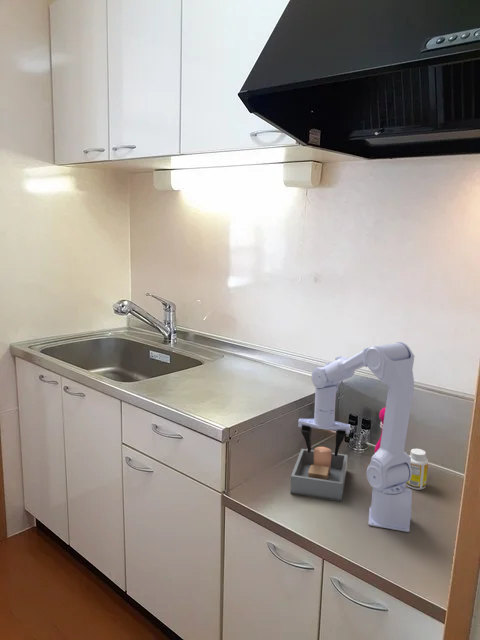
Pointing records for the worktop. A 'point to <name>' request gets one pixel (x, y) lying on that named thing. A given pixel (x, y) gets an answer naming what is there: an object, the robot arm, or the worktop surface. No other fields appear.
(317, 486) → the gray tote
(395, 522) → the robot arm
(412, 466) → the supplement bottle
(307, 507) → the worktop surface
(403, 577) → the worktop surface
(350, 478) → the worktop surface
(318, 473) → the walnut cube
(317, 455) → the terracotta cylinder
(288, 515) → the worktop surface
